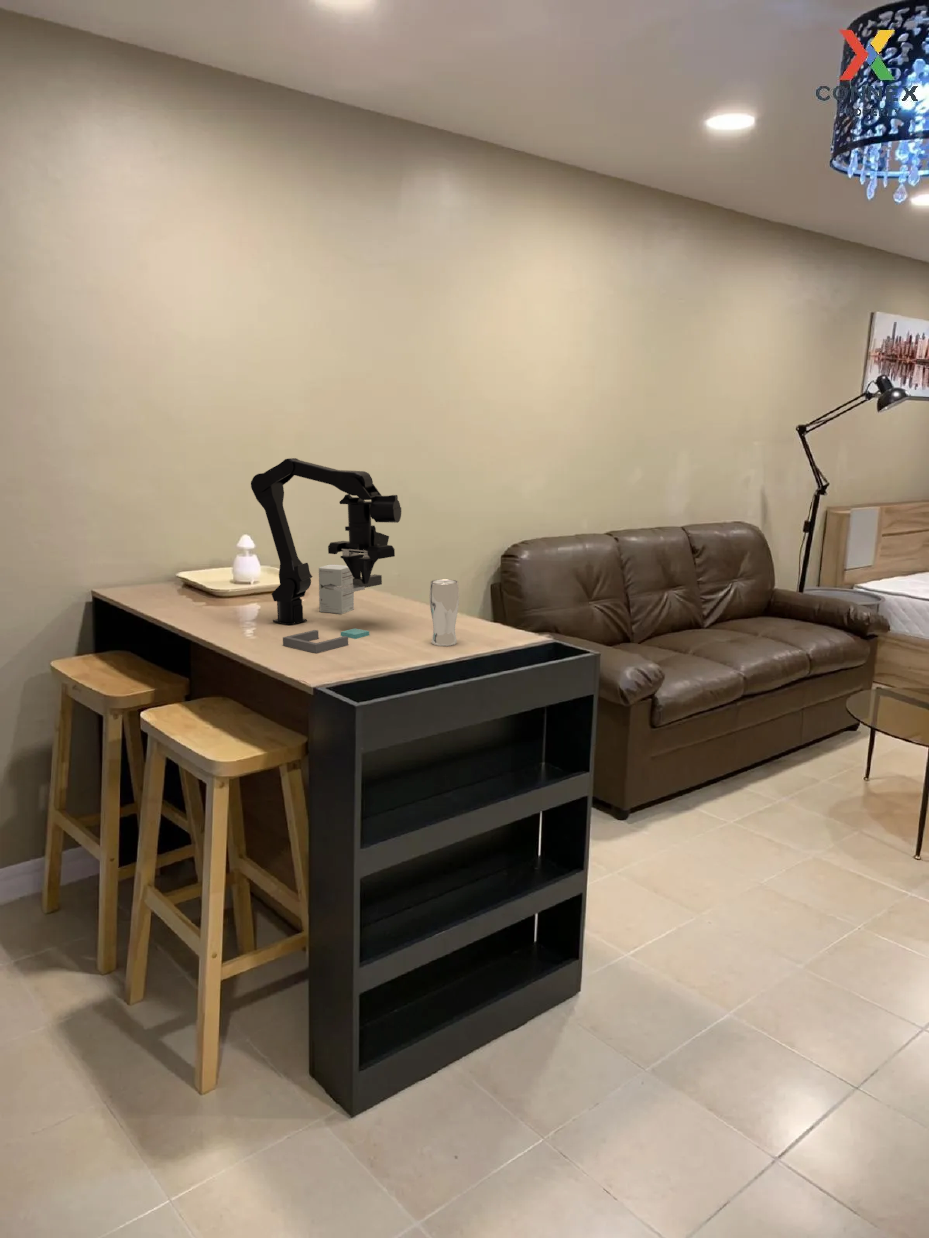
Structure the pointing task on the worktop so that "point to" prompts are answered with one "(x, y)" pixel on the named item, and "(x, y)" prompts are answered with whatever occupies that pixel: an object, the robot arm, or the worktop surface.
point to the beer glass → (444, 611)
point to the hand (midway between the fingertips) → (362, 583)
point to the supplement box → (333, 598)
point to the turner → (360, 584)
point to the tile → (355, 633)
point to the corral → (303, 642)
